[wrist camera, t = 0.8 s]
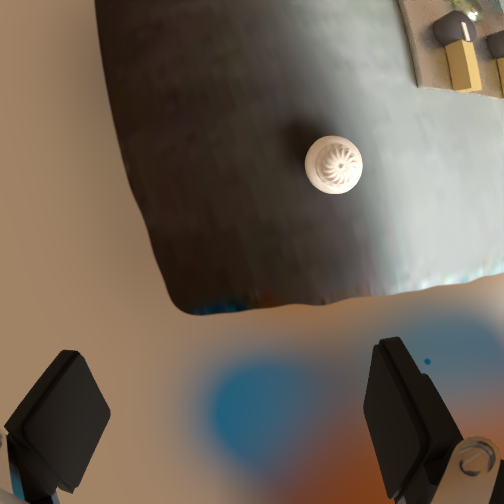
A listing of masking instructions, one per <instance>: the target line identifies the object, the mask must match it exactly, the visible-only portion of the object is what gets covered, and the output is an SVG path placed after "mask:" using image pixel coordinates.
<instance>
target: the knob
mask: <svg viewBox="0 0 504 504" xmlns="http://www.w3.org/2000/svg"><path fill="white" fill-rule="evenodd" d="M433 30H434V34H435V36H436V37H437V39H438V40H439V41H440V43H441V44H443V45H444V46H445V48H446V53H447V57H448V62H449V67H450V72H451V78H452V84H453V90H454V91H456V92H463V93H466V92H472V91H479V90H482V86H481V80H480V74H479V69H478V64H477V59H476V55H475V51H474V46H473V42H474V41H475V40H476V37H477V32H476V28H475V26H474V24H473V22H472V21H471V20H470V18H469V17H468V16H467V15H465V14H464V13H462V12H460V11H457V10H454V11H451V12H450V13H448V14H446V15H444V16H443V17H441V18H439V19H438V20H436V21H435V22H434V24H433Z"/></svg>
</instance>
